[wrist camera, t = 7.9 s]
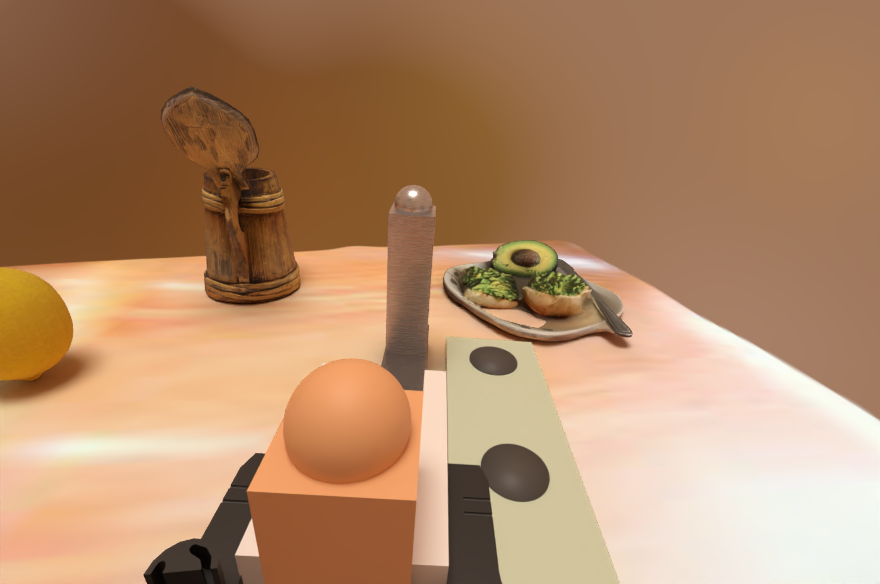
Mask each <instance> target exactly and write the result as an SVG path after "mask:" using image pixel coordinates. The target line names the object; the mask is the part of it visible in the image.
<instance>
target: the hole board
mask: <svg viewBox="0 0 880 584" xmlns="http://www.w3.org/2000/svg"><path fill="white" fill-rule="evenodd" d="M446 394H447V463H451V464H468V465H480V467H481V469H482V471H483V472H484V474H485V476H486V478H487V479H488V482H489V490H490V502H491V507H492V517H493V524H494V532H495V540H496V549H497V557H498V565H499V573H500V577H501V581H502V584H620V582H619V580H618V577H617V574H616V571H615V569H614V566H613V563H612V560H611V558H610V555H609V552H608V550H607V547H606V544H605V541H604V539H603V536H602V533H601V530H600V528H599V525H598V522H597V520H596V517H595V514H594V511H593V509H592V506H591V503H590V500H589V498H588V495H587V492H586V490H585V487H584V484H583V481H582V479H581V476H580V473H579V470H578V468H577V465H576V462H575V460H574V457H573V454H572V451H571V449H570V446H569V443H568V440H567V438H566V435H565V432H564V429H563V427H562V424H561V421H560V419H559V416H558V413H557V410H556V408H555V405H554V402H553V399H552V397H551V394H550V391H549V389H548V386H547V383H546V380H545V378H544V375H543V372H542V369H541V367H540V364H539V361H538V359H537V356H536V353H535V350H534V348H533V345H532V342H521V341H506V340H491V339H476V338H461V337H446Z"/></svg>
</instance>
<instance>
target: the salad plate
mask: <svg viewBox="0 0 880 584" xmlns="http://www.w3.org/2000/svg"><path fill="white" fill-rule="evenodd" d="M443 286H444V288H445V290H446V291H447V293H448V295H449V296H450V297H451V298H452V299H453V300H454V301H455V302H457V303H458V304H460V305H462V306H464V307H465V308H467V309H468V310H469V311H471V312H472V313H474V314H475V315H477V316H478V317H480V318H481V319H483V320H485V321H487V322H489V323H491V324H493V325H495V326H496V327H498V328H500V329H502V330H504V331H506V332H508V333H510V334H513V335H515V336H518V337H522V338H527V339H532V340H538V341H548V342H560V341H568V340H572V339H575V338H578V337H581V336H584V335H587V334H592V333H597V332H602V331H608V332H610V333H613V334H615V335H617V336H621V337H631V336H632V334H633V333H632V331H631V329H630V328H629V327H628V326H627V325H626V324H625V323H624V322H623V321H622V320H621V319H620V317H621V316H622V314H623V304H622V301H621V299H620V297H619V296H618V295H617V294H615V293H613V292H611V291H609V290H607V289H605V288H603V287H601V286H598V285H596V284H594V283H592V282H590V281H588V280H586V279H583V278H582V277H581V276H579V275H578V274H577V273H576V272H575V271H574V269H573V268H572V267H571V266H570V265H568V264H567V263H566V262H564V261H563V260H560V259H558V255H557V253H556V252H555V250H553V249H552V248H551V247H550V246H548V245H547V244H544V243H541V242H538V241H531V240H522V241H514V242H510V243H506V244H504V245H501V246H499V247H498V248H497V250H496V251H495V252H493V258H492V259H491V261H488V262H482V263H473V264H464V265H458V266H454V267H451V268H449V269H448V270H447V271H446V272H445V274H444V277H443ZM482 307H485V308H489V309H494V308H496V309H519V310H522V311H526V312H529V313H532V314H534V315H535V316H536V317H537V318H540V319H543V320H546V321H547V322H546V324H545V325H543V326H542V327H540V328H534V327H529V326H525V325H520V324H516V323H513V322H509V321H506V320H502V319H499V318H497V317H495V316H493V315H491V314H489V313H487V312H486V311H484V310H483V309H481V308H482Z"/></svg>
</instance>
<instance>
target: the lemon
mask: <svg viewBox="0 0 880 584" xmlns="http://www.w3.org/2000/svg"><path fill="white" fill-rule="evenodd" d="M72 338H73V323H72V319H71V316H70V313H69V311H68V309H67V306H66V305H65V303H64V301H63V299H62V298H61V297H60V295H59V294H58V293H57V291H56V290H55V289H54V288H53V287H52V286H51V285H50V284H49V283H47V282H46V281H44V280H43V279H41V278H39V277H38V276H35V275H33V274H31V273H28V272H25V271H21V270H16V269H10V268H0V380H19V379H20V380H25V381H33V380H36V379H38V378H39V377H40V376H41V375H42V373H43V372H44V371H46V370H48V369H50V368H51V367H53V366H54V365H55V364H57V363H58V362H59V361H60V360H61V359H62V358H63V356H64V355H65V354H66V353H67V351H68V350H69V347H70V345H71V342H72Z"/></svg>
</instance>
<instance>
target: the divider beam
mask: <svg viewBox="0 0 880 584" xmlns="http://www.w3.org/2000/svg"><path fill="white" fill-rule="evenodd" d="M435 211H436V206H433V202H432V198H431V196H430V194H429V193H428V191H427V190H425V189H424V188H422V187H420V186H417V185H410V186H406V187H404V188H403V189H401V190H400V191H399V192H398V194H397V196H396V198H395V203H393V205H392V207H391V210H390V212H389V214H388V215H389V216H388V265H387V317H386V348H385V353H384V357H383V361H382V366H381V367H383V368H384V369H386V370H387V371H389V372H390V373H391V374H392V375H393V376H394V377H395V378H396V379H397V380H398V382H399V383H400V384H401V386H402V388H403V389H404V390H412V391H423V387H424V373H425V370H426V363H427V347H428V331H429V325H428V313H429V299H430V284H431V270H432V256H433V240H434V227H435Z"/></svg>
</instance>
